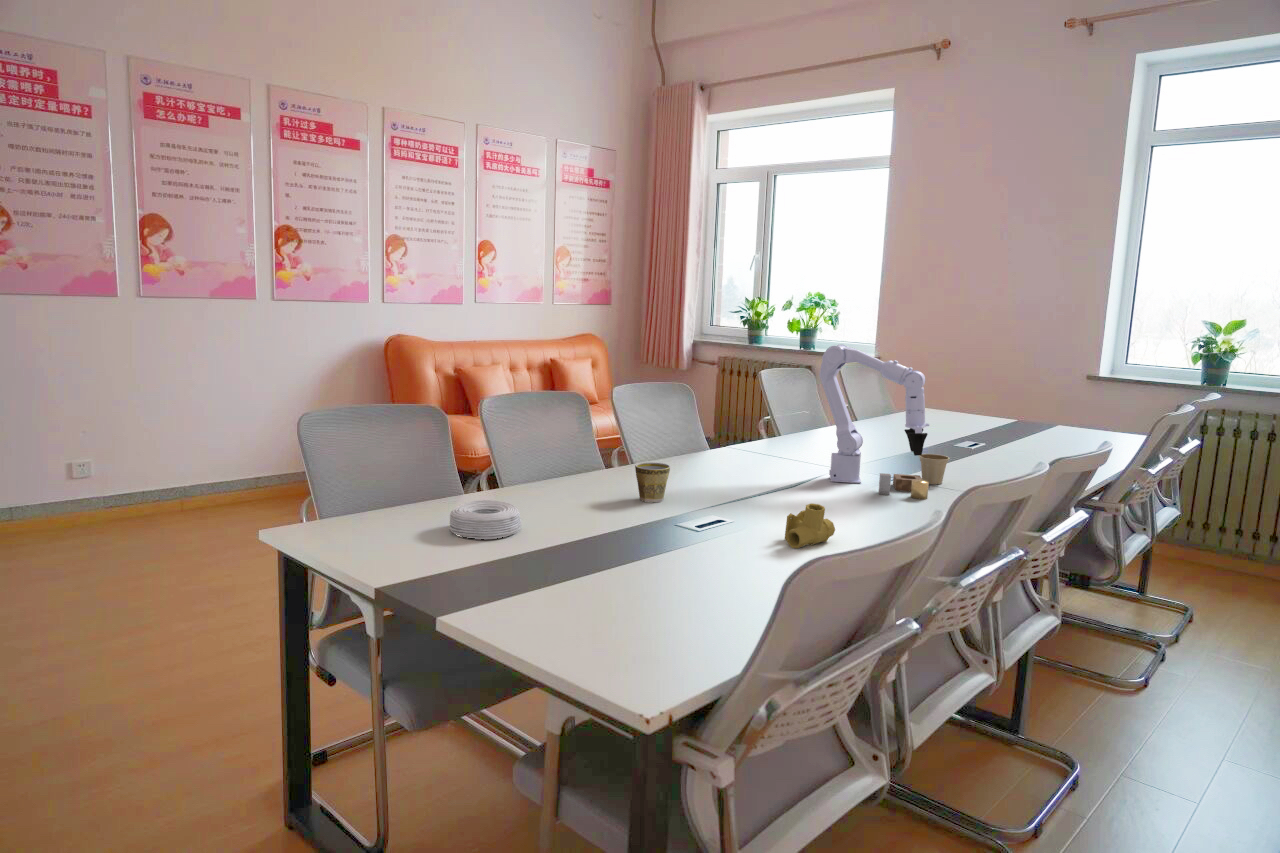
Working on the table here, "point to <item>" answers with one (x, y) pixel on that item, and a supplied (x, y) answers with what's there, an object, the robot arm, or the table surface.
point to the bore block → (904, 481)
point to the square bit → (884, 484)
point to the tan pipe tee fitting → (808, 527)
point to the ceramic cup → (652, 480)
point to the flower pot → (933, 467)
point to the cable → (485, 519)
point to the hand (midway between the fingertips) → (916, 453)
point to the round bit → (919, 489)
